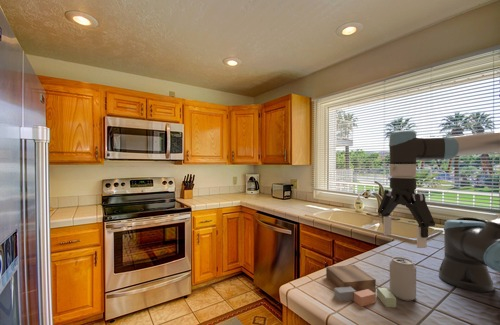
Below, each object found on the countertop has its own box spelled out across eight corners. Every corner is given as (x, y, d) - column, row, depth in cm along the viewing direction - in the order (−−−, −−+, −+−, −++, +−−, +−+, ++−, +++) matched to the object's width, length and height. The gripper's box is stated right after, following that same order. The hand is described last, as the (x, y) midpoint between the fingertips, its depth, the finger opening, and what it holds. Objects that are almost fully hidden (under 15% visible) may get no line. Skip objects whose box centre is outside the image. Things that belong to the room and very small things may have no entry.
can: (405, 289, 82) (405, 255, 82) (422, 302, 74) (422, 264, 75) (384, 289, 82) (384, 255, 82) (399, 302, 74) (399, 264, 74)
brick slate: (350, 295, 78) (350, 286, 78) (356, 300, 75) (356, 291, 76) (334, 297, 77) (334, 288, 77) (339, 302, 74) (339, 292, 74)
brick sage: (377, 296, 78) (376, 287, 78) (386, 296, 78) (386, 287, 78) (386, 307, 72) (386, 297, 72) (396, 308, 72) (396, 298, 72)
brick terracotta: (367, 298, 77) (368, 288, 77) (375, 303, 74) (375, 293, 74) (353, 301, 75) (353, 292, 75) (361, 307, 72) (361, 297, 72)
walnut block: (354, 274, 93) (354, 264, 93) (375, 291, 81) (375, 279, 81) (326, 277, 90) (326, 267, 90) (344, 294, 79) (344, 282, 79)
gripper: (367, 175, 90) (367, 230, 90) (428, 179, 65) (429, 255, 65) (384, 175, 91) (384, 229, 91) (450, 179, 67) (450, 253, 66)
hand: (403, 240), depth 78 cm, fingers open, 13 cm apart
